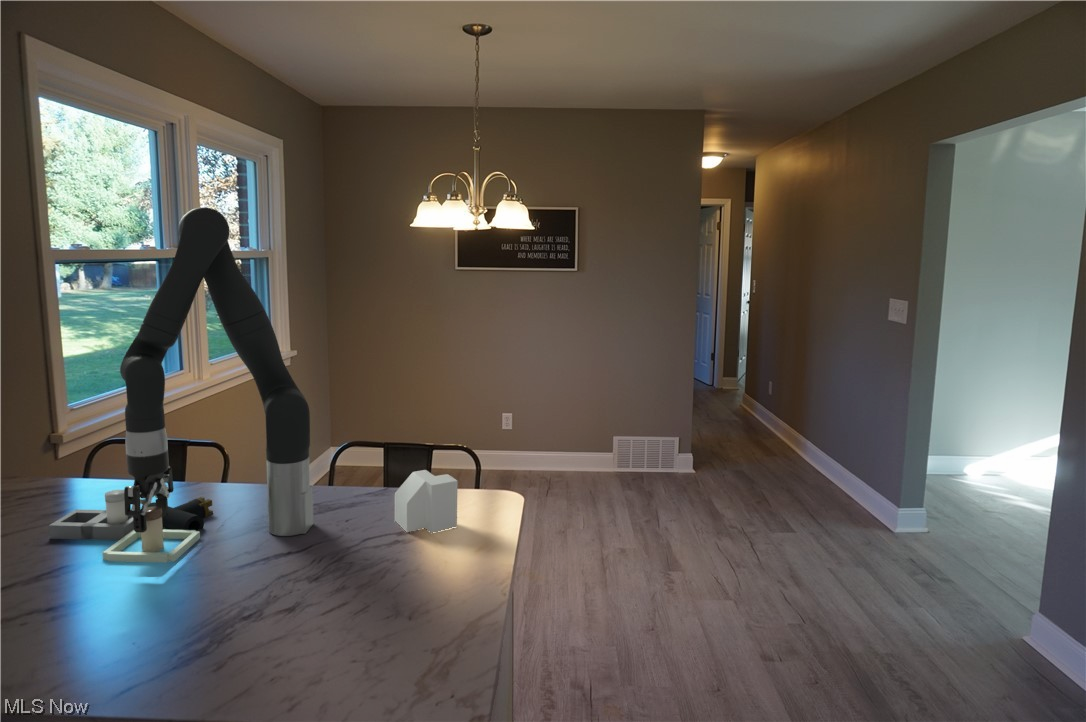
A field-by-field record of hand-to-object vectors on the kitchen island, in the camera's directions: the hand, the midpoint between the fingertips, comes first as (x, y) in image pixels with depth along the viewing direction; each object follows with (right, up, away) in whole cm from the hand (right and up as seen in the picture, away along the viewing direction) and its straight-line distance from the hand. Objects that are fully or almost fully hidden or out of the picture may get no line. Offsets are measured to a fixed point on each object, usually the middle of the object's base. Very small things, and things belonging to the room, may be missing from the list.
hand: (151, 523), depth 145 cm
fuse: (-12, -4, +8) cm, 15 cm away
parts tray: (0, -7, +1) cm, 7 cm away
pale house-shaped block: (+54, -6, +20) cm, 58 cm away
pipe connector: (-1, -4, +16) cm, 17 cm away
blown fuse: (0, -6, +1) cm, 6 cm away
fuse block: (-16, -5, +9) cm, 19 cm away
